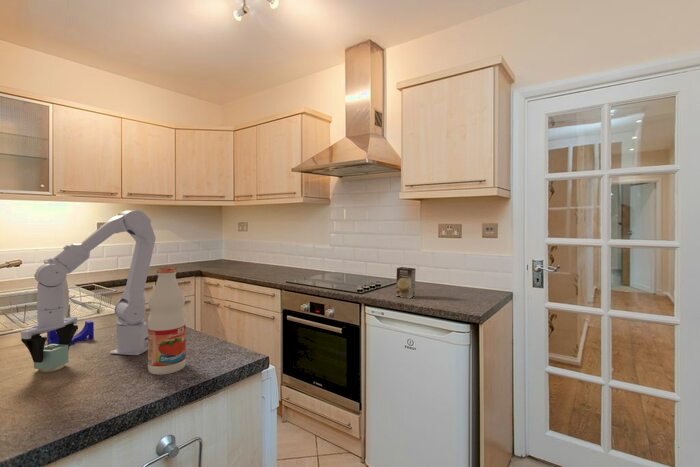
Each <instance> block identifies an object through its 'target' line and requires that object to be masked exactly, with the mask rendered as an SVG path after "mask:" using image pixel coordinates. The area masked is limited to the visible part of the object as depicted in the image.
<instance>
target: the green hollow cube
mask: <svg viewBox="0 0 700 467" xmlns="http://www.w3.org/2000/svg"><path fill="white" fill-rule="evenodd" d="M49 346H55V347H56V348H55V349H53V350H47V348H48V347H49ZM68 363H69V351H68V345H62V344H50V345H44V355H43V362H41V363H35V362H33V369H37V370H38V369H46V370H52V369H54V368H57V367H59V366H61V365H64V364H65V365H66V364H68Z"/></svg>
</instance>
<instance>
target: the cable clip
mask: <svg viewBox="0 0 700 467" xmlns="http://www.w3.org/2000/svg"><path fill="white" fill-rule="evenodd" d="M84 322H85V323H84V326H83V327H82V329H81V330H80V331H79V332H78V333H77V334H74V336H73V338H72V341H71V344H70V346H71V345H75V343H79V342H84V341H88V340H93V339H95V336H94V335H95V332H94V330H95V329H94V328H95V326H94V325H95V324H94V321H93V320H90V319H89V320H85V321H84ZM46 337H47V339H46V344H47V345H50V344H59V339H58V335H57V332H56V330H53V331H49V332H46ZM47 345H46V346H47Z"/></svg>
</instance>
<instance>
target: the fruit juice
mask: <svg viewBox="0 0 700 467" xmlns="http://www.w3.org/2000/svg"><path fill="white" fill-rule="evenodd" d="M177 272H178V270H177V268H176V267H171V266H169V267H168V266H166V267H158V268H156V275H157V279H156V282H155V286H154V289H153V291H152V292H151V293H150V294H149V296H148V298H147V300H148V301H147V306H148V308H149V315H148V318H147V323H148V350H147V370H148V372H149V373H150V374H152V375H157V376H158V375H159V376H161V375H162V376H163V375H170V374H173V373H177V372H179V371H182V369H184V368H185V367H186V362H187V361H186V358H187V357H186V355H187V353H186V352H187V351H186V348H187V347H186V346H187V344H186V339H187V338H186V335H187V334H186V333H187V332H186V328H187V326H186V313H185V311H184V306H185V302H186V296H185V293H184V292H183V290H181V288H180V286H179V284H178V283H179V282H178V280H177V276H176V274H177Z"/></svg>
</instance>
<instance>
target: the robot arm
mask: <svg viewBox="0 0 700 467" xmlns="http://www.w3.org/2000/svg"><path fill="white" fill-rule="evenodd" d="M124 232H126V233H128V234H129V235H130V236H131V237H132V238H133V239H134V241H135V245H134V249H133V252H132V253H133V254H132V257H131V264H130V267H129V271H128V276H127V281H126V285H125V288H124V291H123V292H122V294H121V295H120V298H119V300H118V302H117V303H116V304H115V306H114V310H113V311H114V315H115V316H116V317H117V321H116V349H113V350H111V351H110V352H109V354H112V355H128V356H139V355H141V354H143V353H144V352H148V322H145V321H144V318H145V317H146V314H147V308H146V306H145V305H146V297H145V288H146V284H147V278H148V274H149V269H150V266H151V261H152V256H153V251H154V248H155V242H156V235H155V232H154V229H153V226H152V219H151V218H150V217H149V216H148V215H147V214H146V213H145V212H144V211H142V210H139V209H133V210H130V209H129V210H122V211H120V212H119V213H118V214H117V215H115V216H112V217H111V218H110V219H108V220H107V221H106V222H104V223H103V224H102V225H101V226H100V227H98V228H97V229H96V230H95V231H94V232H92V234H90V235H89V236H88V237H86V238H85V239H84V240H83V241H82V242H81V243H71V244H70V245H68V244H67V245H65V246H63V248H62V249H63V250H62V251H60V252H59V253H58V254H57V255H55V256H54V257H53V258H48V259H49V260H47V261H46V262H49V263H50V264H44V263H43V264H42V265H40V266H39V267H38V268H37V269H36V271H35V273H34V274H33V276H34V278H35V280H36V282H37V286H36V289H37V292H36V316H37V319H36V320H37V322H36V323H35V325H33V326H32V327H28V328H27V329H23V330H21V331H20V340H21V342H22V343H23V344H24V346H26V348H27V350H28V352H29V354H30V356H31V359H32V362H33V363H34V362H35V363H41V362H43V355H44V346H46V343H47V336H43V335H42V334H45V333H46V334H47V332H49V331H53V330H56V333H57V335H58V339H59V344H62V345H68V352H69V350H70V347H71V345H70V344H71V341H72V338H73V336H75V335H76V332H77V331H78V330H79V325H77V324H78V316H71V317H69V318H64V290H63V282H64V281H65V279H66V280H67V275H68V274H69V275H70V274H71V273H73V271H75V270H76V269H77V268H79V267H80V266H81V265H82V264H84V263H85V262H86V261H87V260H89V259H90V253H91V251H93V250H94V249H95V248H97V247H98V246H99V245H100V244H102V243H103V242H105V241H106V240H108V239H109V238H110V237H112V235H115V234H119V233H124Z"/></svg>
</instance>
